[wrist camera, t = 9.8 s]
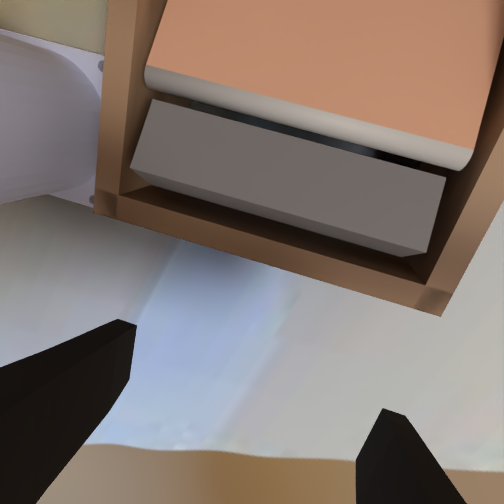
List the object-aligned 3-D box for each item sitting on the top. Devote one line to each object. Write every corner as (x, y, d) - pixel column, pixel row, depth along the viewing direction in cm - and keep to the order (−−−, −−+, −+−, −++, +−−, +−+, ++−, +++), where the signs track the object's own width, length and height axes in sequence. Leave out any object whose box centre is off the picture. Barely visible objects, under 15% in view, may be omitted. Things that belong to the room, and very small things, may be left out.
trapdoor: (414, 261, 12) (445, 256, 10) (139, 181, 13) (113, 161, 11) (514, -109, 13) (562, -185, 11) (252, -161, 14) (249, -241, 12)
